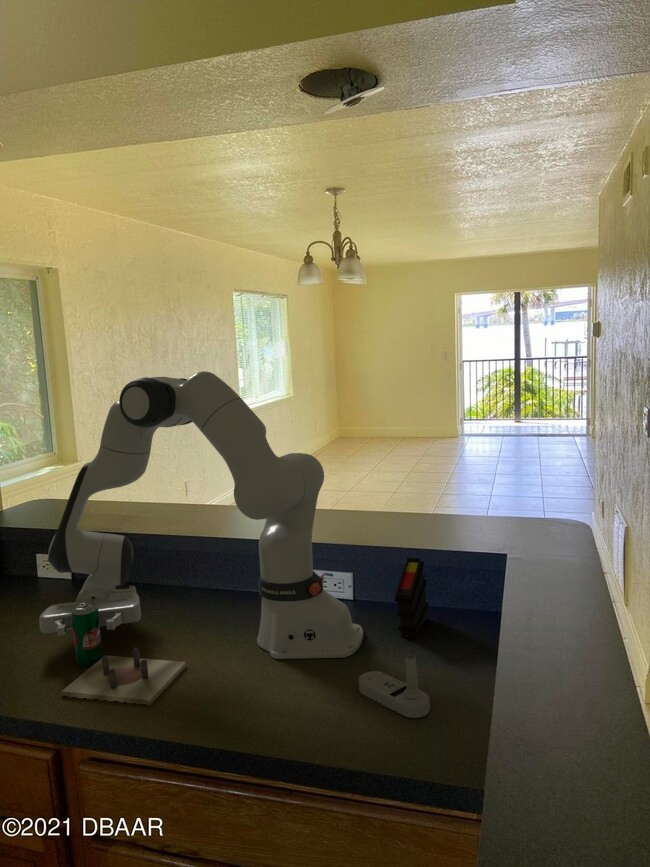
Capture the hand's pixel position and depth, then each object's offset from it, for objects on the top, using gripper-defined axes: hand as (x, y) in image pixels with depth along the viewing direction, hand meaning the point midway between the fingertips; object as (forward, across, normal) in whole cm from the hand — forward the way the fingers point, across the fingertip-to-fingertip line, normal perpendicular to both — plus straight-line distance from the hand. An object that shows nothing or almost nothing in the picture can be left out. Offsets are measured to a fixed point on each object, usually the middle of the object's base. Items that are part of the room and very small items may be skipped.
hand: (85, 629), depth 131 cm
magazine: (+4, +67, +8) cm, 68 cm away
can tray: (+10, +8, +7) cm, 15 cm away
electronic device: (+30, +55, +8) cm, 63 cm away
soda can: (-1, 0, +7) cm, 7 cm away
